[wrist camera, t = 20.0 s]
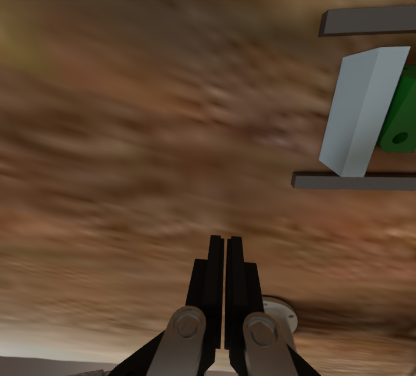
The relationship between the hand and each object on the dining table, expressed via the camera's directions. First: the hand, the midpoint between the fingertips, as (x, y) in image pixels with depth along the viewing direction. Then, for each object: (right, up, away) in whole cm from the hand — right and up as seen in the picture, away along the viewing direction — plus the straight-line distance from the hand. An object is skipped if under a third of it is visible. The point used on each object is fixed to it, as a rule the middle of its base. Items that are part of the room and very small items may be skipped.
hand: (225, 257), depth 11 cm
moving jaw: (+13, +12, +10) cm, 20 cm away
